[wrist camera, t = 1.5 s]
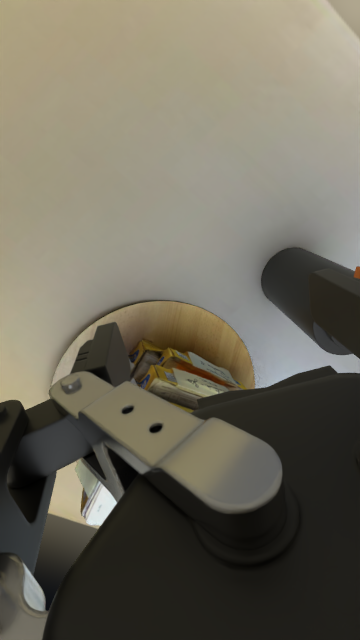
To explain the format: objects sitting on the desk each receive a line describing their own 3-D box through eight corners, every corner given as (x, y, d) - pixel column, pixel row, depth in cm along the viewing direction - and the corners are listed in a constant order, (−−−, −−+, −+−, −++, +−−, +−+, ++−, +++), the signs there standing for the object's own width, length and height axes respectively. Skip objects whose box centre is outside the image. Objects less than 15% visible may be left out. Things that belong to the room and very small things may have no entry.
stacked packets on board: (150, 255, 34) (160, 317, 19) (290, 380, 43) (372, 490, 28) (15, 404, 40) (-61, 545, 24) (164, 488, 49) (176, 630, 33)
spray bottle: (269, 227, 35) (418, 285, 16) (328, 230, 36) (532, 287, 17) (257, 304, 38) (368, 423, 20) (311, 305, 39) (466, 419, 21)
